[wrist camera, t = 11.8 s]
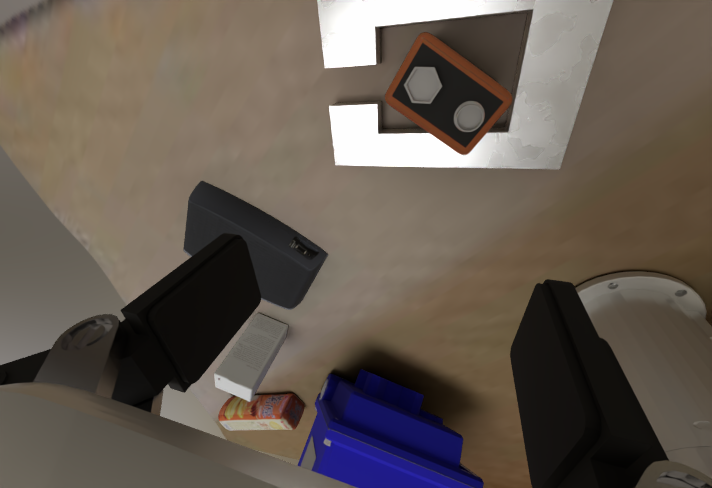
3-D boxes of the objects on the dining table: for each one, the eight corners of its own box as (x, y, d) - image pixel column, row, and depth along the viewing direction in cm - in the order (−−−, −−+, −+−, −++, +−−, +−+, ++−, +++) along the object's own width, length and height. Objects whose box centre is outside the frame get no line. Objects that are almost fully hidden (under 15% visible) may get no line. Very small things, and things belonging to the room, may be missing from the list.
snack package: (293, 388, 63) (278, 420, 58) (309, 406, 66) (296, 438, 60) (230, 391, 73) (212, 419, 68) (246, 407, 75) (230, 434, 70)
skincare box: (256, 326, 53) (213, 387, 44) (258, 311, 51) (212, 373, 41) (287, 339, 53) (250, 403, 43) (290, 325, 50) (251, 390, 41)
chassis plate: (618, -57, 18) (634, -67, 17) (553, 161, 26) (559, 169, 24) (324, -12, 24) (315, -17, 22) (341, 159, 31) (335, 165, 30)
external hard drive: (301, 302, 47) (289, 321, 44) (194, 241, 46) (174, 256, 43) (332, 248, 39) (321, 266, 36) (204, 174, 38) (180, 186, 35)
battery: (431, 33, 23) (420, 26, 15) (498, 82, 24) (521, 100, 16) (400, 86, 26) (377, 103, 18) (462, 129, 27) (465, 164, 19)
